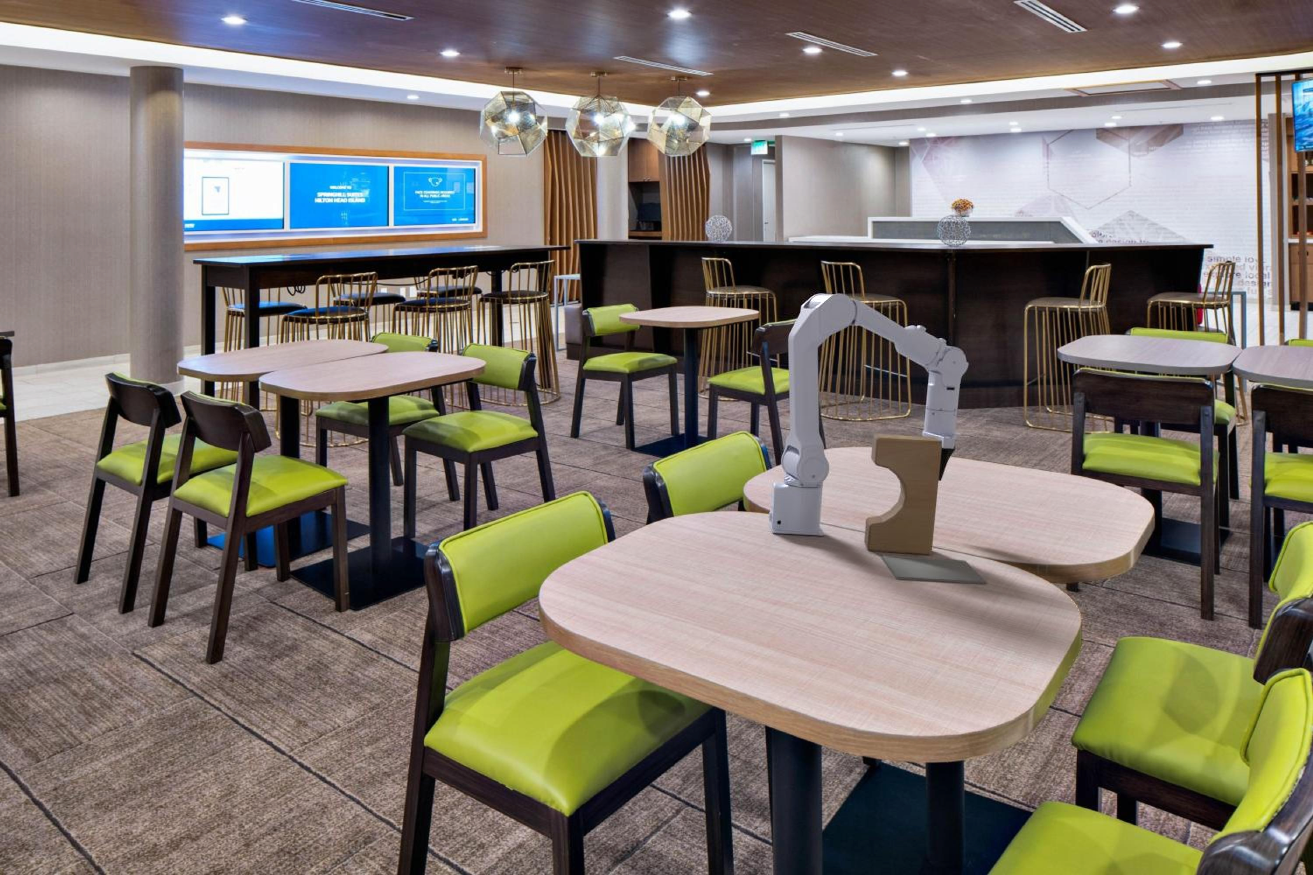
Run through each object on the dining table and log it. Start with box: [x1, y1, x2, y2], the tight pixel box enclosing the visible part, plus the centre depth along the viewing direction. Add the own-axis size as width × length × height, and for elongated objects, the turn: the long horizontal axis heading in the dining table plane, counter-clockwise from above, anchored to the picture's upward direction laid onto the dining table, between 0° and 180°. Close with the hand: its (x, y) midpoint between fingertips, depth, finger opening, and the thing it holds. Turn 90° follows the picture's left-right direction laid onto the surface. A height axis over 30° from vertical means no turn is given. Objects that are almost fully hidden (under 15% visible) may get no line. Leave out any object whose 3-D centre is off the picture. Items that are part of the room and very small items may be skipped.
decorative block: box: [863, 433, 942, 556], centre depth 165 cm, size 11×6×20 cm, turn 83°
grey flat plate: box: [881, 555, 988, 585], centre depth 154 cm, size 14×12×1 cm
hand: (934, 480), depth 180 cm, fingers closed
